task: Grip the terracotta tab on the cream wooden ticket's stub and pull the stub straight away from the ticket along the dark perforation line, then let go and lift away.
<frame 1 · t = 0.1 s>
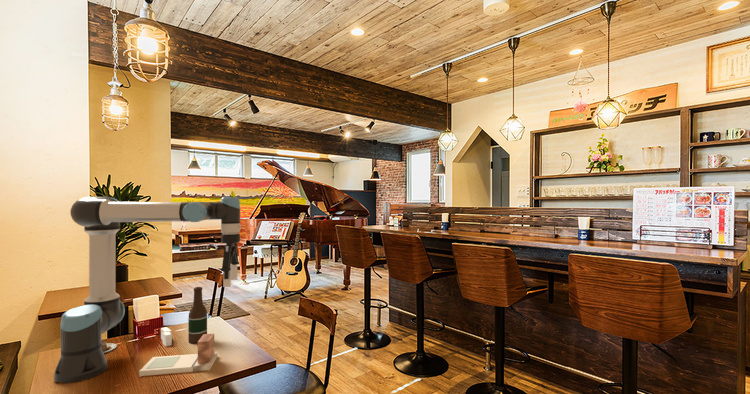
hand: (230, 283, 156), 28 cm above the table, tool pointing down, fingers open, 13 cm apart
beer bottle: (197, 341, 165), on the table
pastry: (99, 351, 155), on the table
stub: (206, 350, 141), point 5 cm above the table, slide at 0.0 cm
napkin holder: (165, 344, 163), on the table
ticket: (172, 367, 139), on the table
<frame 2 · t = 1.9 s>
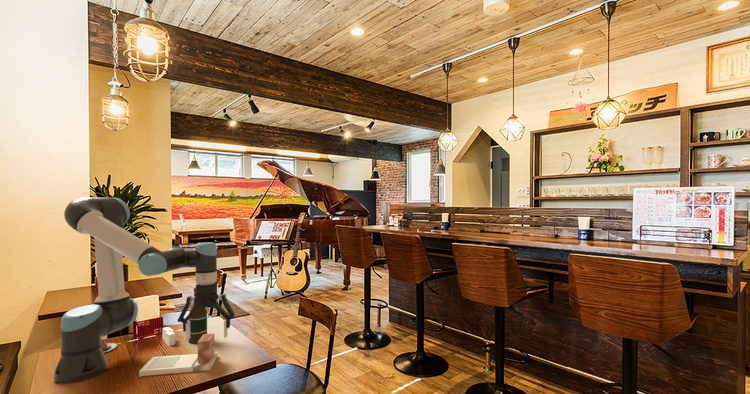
hand: (207, 338, 141), 10 cm above the table, tool pointing down, fingers open, 13 cm apart
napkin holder: (167, 343, 163), on the table
everything else where it was.
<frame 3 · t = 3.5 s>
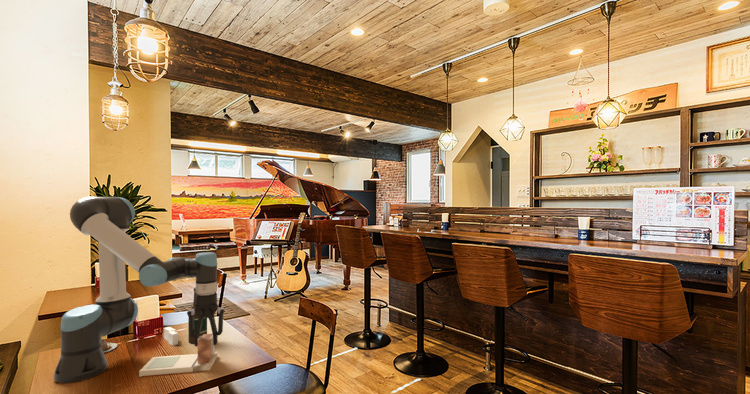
hand: (206, 353, 141), 4 cm above the table, tool pointing down, fingers closed on stub, 4 cm apart
stub: (206, 350, 141), point 5 cm above the table, slide at 0.0 cm, touching gripper
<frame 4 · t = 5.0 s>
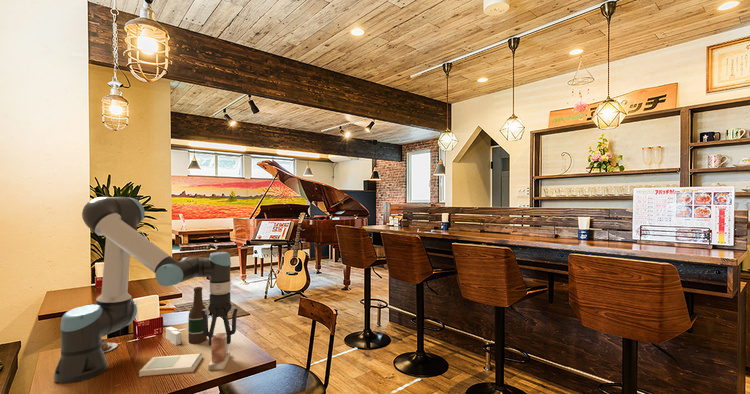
hand: (219, 352, 142), 4 cm above the table, tool pointing down, fingers closed on stub, 4 cm apart
stub: (219, 349, 142), point 5 cm above the table, slide at 4.9 cm, touching gripper
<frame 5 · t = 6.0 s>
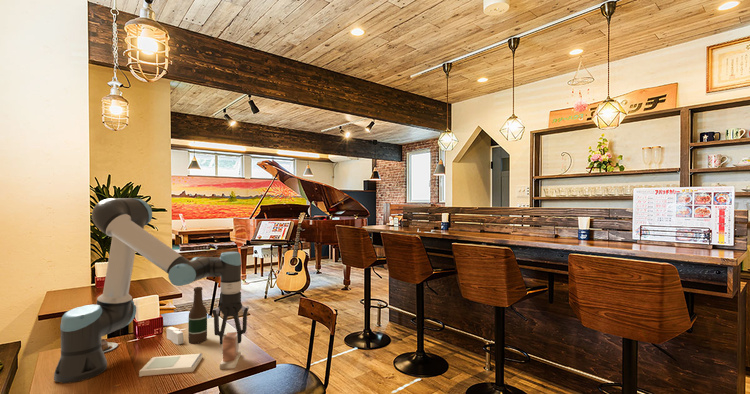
hand: (230, 351, 143), 4 cm above the table, tool pointing down, fingers closed on stub, 4 cm apart
stub: (230, 348, 143), point 5 cm above the table, slide at 8.9 cm, touching gripper
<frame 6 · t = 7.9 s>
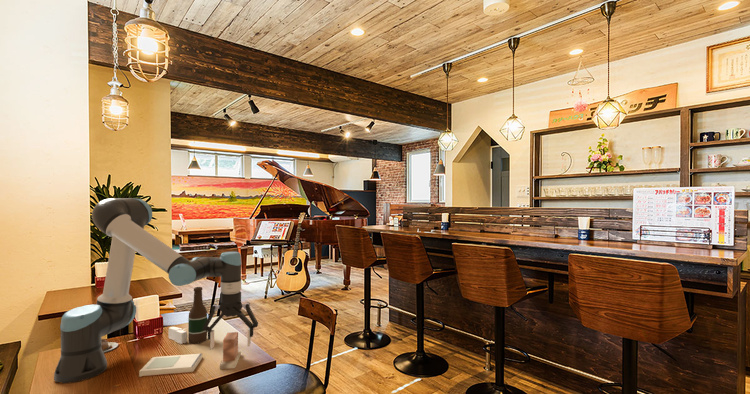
hand: (230, 346, 143), 6 cm above the table, tool pointing down, fingers open, 13 cm apart
stub: (230, 348, 143), point 5 cm above the table, slide at 9.0 cm
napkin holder: (176, 342, 165), on the table
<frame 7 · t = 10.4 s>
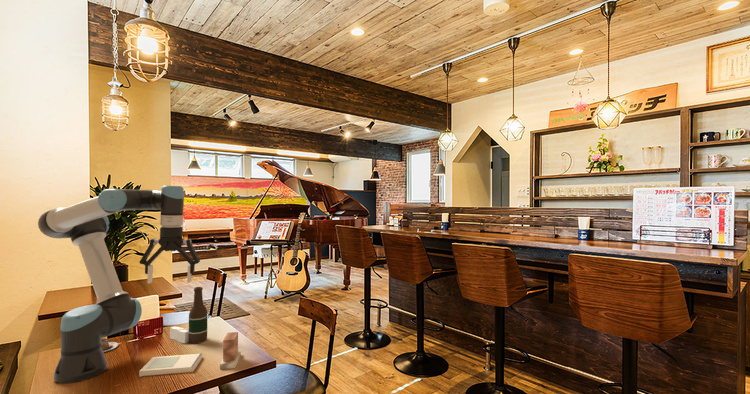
hand: (169, 282, 138), 32 cm above the table, tool pointing down, fingers open, 13 cm apart
beer bottle: (198, 341, 165), on the table, touching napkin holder
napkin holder: (178, 342, 165), on the table, touching beer bottle
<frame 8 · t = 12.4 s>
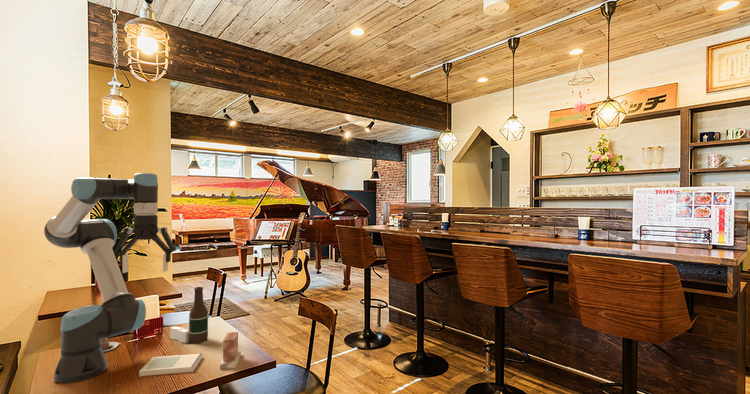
hand: (145, 271, 136), 37 cm above the table, tool pointing down, fingers open, 13 cm apart
beer bottle: (198, 341, 165), on the table
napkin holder: (179, 341, 165), on the table
at the end: stub slide at 9.0 cm; the gripper is holding nothing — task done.
